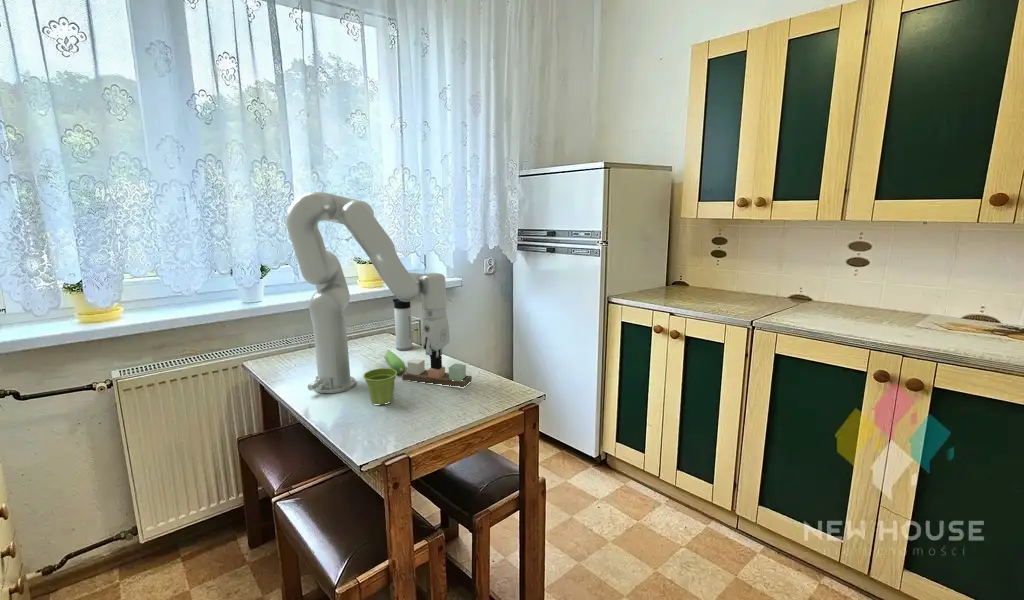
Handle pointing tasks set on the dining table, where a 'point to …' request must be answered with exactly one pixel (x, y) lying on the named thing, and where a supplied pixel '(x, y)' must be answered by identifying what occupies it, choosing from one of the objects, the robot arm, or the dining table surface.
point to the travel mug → (403, 325)
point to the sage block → (457, 372)
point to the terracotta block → (436, 372)
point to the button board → (436, 379)
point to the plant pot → (380, 384)
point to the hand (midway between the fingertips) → (436, 367)
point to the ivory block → (416, 366)
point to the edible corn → (395, 362)
